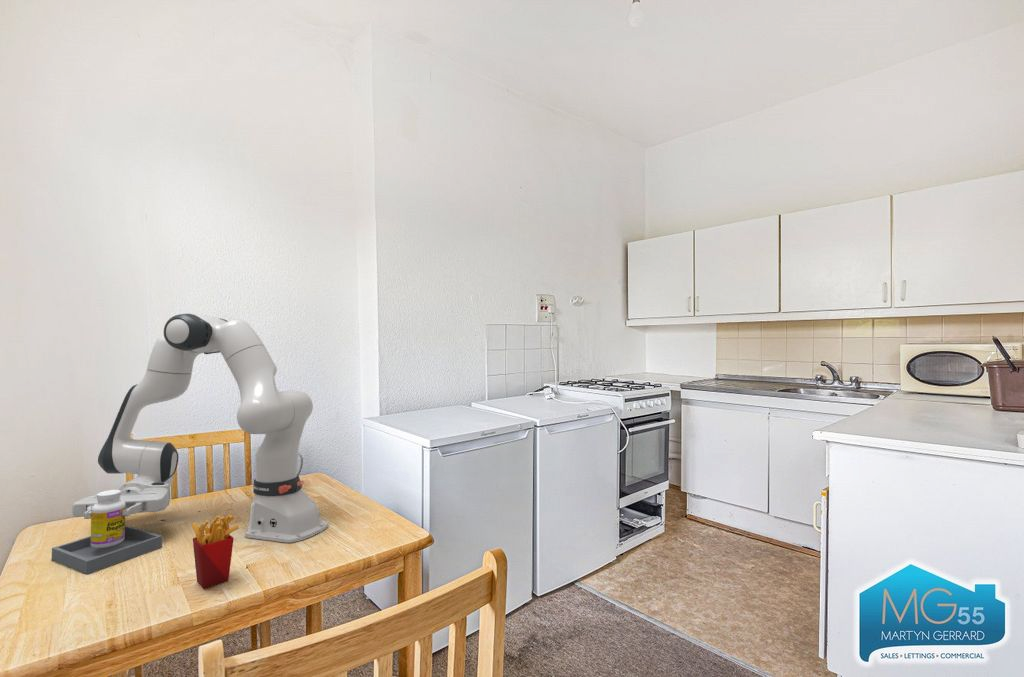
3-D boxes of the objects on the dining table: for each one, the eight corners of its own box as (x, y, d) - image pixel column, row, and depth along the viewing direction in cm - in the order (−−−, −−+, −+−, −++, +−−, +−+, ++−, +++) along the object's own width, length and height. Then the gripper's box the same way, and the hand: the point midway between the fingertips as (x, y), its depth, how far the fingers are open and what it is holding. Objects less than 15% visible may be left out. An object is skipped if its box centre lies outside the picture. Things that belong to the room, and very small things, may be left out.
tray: (162, 547, 125) (162, 535, 125) (86, 574, 110) (86, 561, 110) (127, 536, 131) (127, 525, 131) (51, 560, 117) (51, 547, 117)
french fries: (190, 581, 107) (191, 515, 107) (231, 569, 113) (232, 505, 113) (203, 596, 101) (203, 525, 101) (245, 582, 108) (245, 515, 108)
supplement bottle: (104, 550, 117) (105, 497, 117) (83, 547, 118) (84, 495, 118) (131, 539, 123) (132, 489, 123) (111, 536, 125) (111, 487, 125)
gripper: (90, 487, 130) (56, 504, 117) (176, 483, 136) (153, 499, 122) (89, 510, 131) (56, 530, 117) (175, 505, 136) (153, 523, 122)
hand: (106, 514), depth 120 cm, fingers closed on supplement bottle, 7 cm apart
